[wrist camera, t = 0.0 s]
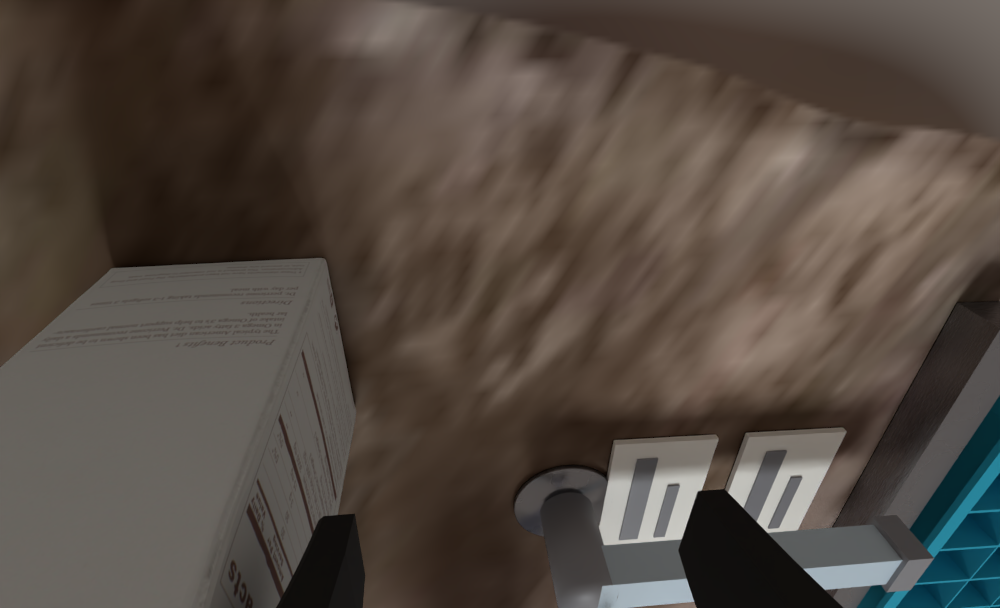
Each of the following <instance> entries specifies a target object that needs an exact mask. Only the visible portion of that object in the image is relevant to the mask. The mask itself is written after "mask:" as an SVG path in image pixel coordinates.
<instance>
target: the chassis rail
mask: <svg viewBox="0 0 1000 608" xmlns="http://www.w3.org/2000/svg"><path fill="white" fill-rule="evenodd" d="M999 396H1000V301H996V302H963V303H957V304H956V306H955V308H954V310H953V312H952V313H951V315H950V317H949V319H948V321H947V322H946V324H945V326H944V328H943V330H942V331H941V333H940V335H939V337H938V339H937V340H936V342H935V344H934V346H933V348H932V349H931V351H930V353H929V355H928V357H927V359H926V360H925V362H924V364H923V366H922V368H921V369H920V371H919V373H918V375H917V377H916V378H915V380H914V382H913V384H912V386H911V387H910V389H909V391H908V393H907V395H906V396H905V398H904V400H903V402H902V404H901V405H900V407H899V409H898V411H897V413H896V414H895V416H894V418H893V420H892V422H891V423H890V425H889V427H888V429H887V431H886V432H885V434H884V436H883V438H882V440H881V441H880V443H879V445H878V447H877V449H876V450H875V452H874V454H873V456H872V458H871V459H870V461H869V463H868V465H867V467H866V468H865V470H864V472H863V474H862V476H861V477H860V479H859V481H858V483H857V485H856V486H855V488H854V490H853V492H852V494H851V495H850V497H849V499H848V501H847V503H846V504H845V506H844V508H843V510H842V512H841V513H840V515H839V517H838V519H837V521H836V522H835V524H834V526H833V528H835V527H848V526H861V525H868V524H869V523H870V521H871V519H872V518H873V517H876V516H889V515H897V516H898V517H899V518H900V519H901V521H902V522H903V523H904V524H905V525H906V526H907V527H908V529H910V528H911V526H912V525H913V523H914V522H915V520H916V519H917V517H918V516H919V514H920V513H921V511H922V510H923V509H924V507H925V506H926V504H927V503H928V501H929V500H930V498H931V497H932V495H933V494H934V492H935V491H936V489H937V488H938V486H939V485H940V483H941V482H942V480H943V479H944V477H945V476H946V474H947V473H948V471H949V470H950V468H951V467H952V465H953V464H954V463H955V461H956V460H957V458H958V457H959V455H960V454H961V452H962V451H963V449H964V448H965V446H966V445H967V443H968V442H969V440H970V439H971V437H972V436H973V434H974V433H975V431H976V430H977V428H978V427H979V425H980V424H981V422H982V421H983V419H984V418H985V417H986V415H987V414H988V412H989V411H990V409H991V408H992V406H993V405H994V403H995V402H996V400H997V399H998V397H999ZM870 587H871V586H862V587H851V588H839V589H828V590H825V591H826V592H827V593H829V594H830V595H831V596H832V597H833V598H834V599H835V600H836V601H837V602H838V603H839V604H840V605H841V606H842V607H843V608H857V606H858V605H859V603H860V602H861V600H862V599H863V598H864V596H865V595H866V593H867V592H868V590H869V589H870Z"/></svg>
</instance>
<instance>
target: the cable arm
mask: <svg viewBox="0 0 1000 608" xmlns="http://www.w3.org/2000/svg"><path fill="white" fill-rule="evenodd" d="M540 518H541V523H542V528H543V533H544V538H545V543H546V548H547V553H548V558H549V564H550V569H551V574H552V579H553V584H554V589H555V594H556V599H557V604H558V608H630V607H641V606H652V605H663V604H674V603H685V602H694V600H693V596H692V593H691V590H690V587H689V584H688V581H687V578H686V575H685V571H684V568H683V565H682V561H681V558H680V555H679V551H678V549H679V546H680V543H681V540H682V539H680V540H667V541H654V542H641V543H628V544H616V545H604V543H603V540H602V536H601V533H600V530H599V526H598V523H597V520H596V516H595V513H594V510H593V506H592V503H591V501H590V500H589V498H587V497H586V496H584V495H582V494H579V493H563V494H559V495H556V496H554V497H552V498H550V499H549V500H547V501H546V502H545V503H544V504H543V506H542V507H541V510H540ZM768 534H769V535H770V536H771V537H772V538H773V539H774V540H775V541H776V542H777V543H778V544H779V545H780V546H781V547H782V548H783V549H784V550H785V551H786V552H787V553H788V554H789V555H790V556H791V557H792V558H793V559H794V560H795V561H796V562H797V563H798V564H799V565H800V566H801V567H802V568H803V569H804V570H805V571H806V572H807V573H808V574H809V575H810V576H811V577H812V578H813V579H814V580H815V581H816V582H817V583H818V584H819V585H820V586H821V587H822V588H823V589H824V590H828V589H839V588H851V587H862V586H873V585H881V586H882V587H883V588H884V590H885V591H886V592H896V591H907V590H911V589H912V588H913V586H914V585H915V583H916V582H917V581H918V579H919V578H920V577H921V575H922V574H923V573H924V571H925V570H926V569H927V567H928V566H929V565H930V563H931V562H932V561H933V559H934V557H933V556H932V555H931V554H930V553H929V552H928V550H927V549H926V548H925V547H924V546H923V545H922V544H921V542H920V541H919V540H918V539H917V538H916V537H915V535H914V534H913V533H912V532H911V531H910V530H909V529H908V527H907V526H906V525H905V524H904V523H903V522H902V521H901V519H900V518H899V517H898V516H897V515H889V516H876V517H873V518H872V519H871V521H870V523H869V524H868V525H861V526H848V527H835V528H822V529H809V530H796V531H784V532H771V533H768Z"/></svg>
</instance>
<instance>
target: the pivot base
mask: <svg viewBox="0 0 1000 608" xmlns="http://www.w3.org/2000/svg"><path fill="white" fill-rule="evenodd" d="M607 485H608V480H607V477H606V476H605V475H603V474H602V473H601V472H599V471H597V470H595V469H593V468H589V467H585V466H578V465H567V466H559V467H554V468H551V469H548V470H545V471H543V472H541V473H539V474H537V475H535V476H533V477H532V478H530V479H529V480H528V481H527V482H525V483H524V485H523V486H522V487H521V488H520V489H519V491H518V493H517V494H516V497H515V500H514V511H515V516H516V519H517V521H518V522H519V524H520V525H521V526H522V527H523V528H524V529H526V530H527V531H529V532H531V533H533V534H536V535H540V536H544V533H543V528H542V523H541V518H540V510H541V507H542V506H543V504H544V503H545V502H546V501H547V500H549V499H550V498H552V497H554V496H556V495H559V494H563V493H579V494H582V495H584V496H586V497H587V498H589V500H590V501H591V503H592V506H593V510H594V513H595V516H596V520H597V523H600V521H601V516H602V511H603V506H604V501H605V496H606V490H607ZM608 511H609V510H608Z"/></svg>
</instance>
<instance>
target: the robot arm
mask: <svg viewBox="0 0 1000 608" xmlns="http://www.w3.org/2000/svg"><path fill="white" fill-rule="evenodd" d="M678 551H679V555H680V558H681V561H682V565H683V568H684V571H685V575H686V578H687V581H688V584H689V587H690V590H691V593H692V596H693V600H694V602H695V605H696V607H697V608H843V607H842V606H841V605H840V604H839V603H838V602H837V601H836V600H835V599H834V598H833V597H832V596H831V595H830V594H829V593H827V592H826V591H825V590H824V589H823V588H822V587H821V586H820V585H819V584H818V583H817V582H816V581H815V580H814V579H813V578H812V577H811V576H810V575H809V574H808V573H807V572H806V571H805V570H804V569H803V568H802V567H801V566H800V565H799V564H798V563H797V562H796V561H795V560H794V559H793V558H792V557H791V556H790V555H789V554H788V553H787V552H786V551H785V550H784V549H783V548H782V547H781V546H780V545H779V544H778V543H777V542H776V541H775V540H774V539H773V538H772V537H771V536H770V535H769V534H768V533H767V532H766V531H765V530H764V529H763V528H762V527H761V526H760V525H759V524H758V523H757V522H756V521H755V520H754V519H753V518H752V517H751V516H750V514H749V513H748V512H747V511H746V510H745V509H744V508H743V507H742V506H741V505H740V504H739V503H738V502H737V501H736V500H735V499H734V498H733V497H732V496H731V495H730V494H729V493H728V492H727V491H726V490H725V489H722V490H707V491H698V492H697V495H696V498H695V501H694V504H693V507H692V510H691V513H690V516H689V519H688V522H687V525H686V528H685V531H684V534H683V537H682V540H681V543H680V546H679V549H678ZM364 582H365V572H364V566H363V560H362V554H361V548H360V543H359V537H358V531H357V525H356V519H355V514H348V515H333V516H323V517H322V518H321V519H319V520H318V523H317V525H316V527H315V530H314V532H313V535H312V537H311V539H310V541H309V543H308V546H307V548H306V550H305V552H304V554H303V556H302V558H301V561H300V563H299V565H298V567H297V569H296V571H295V573H294V575H293V577H292V579H291V581H290V582H289V584H288V586H287V588H286V590H285V592H284V594H283V596H282V598H281V600H280V601H279V603H278V605H277V607H276V608H363V595H364Z"/></svg>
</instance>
